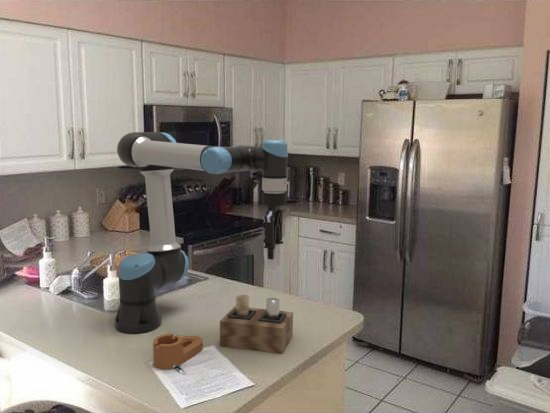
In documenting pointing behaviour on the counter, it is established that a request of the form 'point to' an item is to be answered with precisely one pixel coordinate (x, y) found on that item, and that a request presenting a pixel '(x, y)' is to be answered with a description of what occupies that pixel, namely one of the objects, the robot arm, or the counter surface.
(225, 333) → the walnut block
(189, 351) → the bracket
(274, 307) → the metal peg
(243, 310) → the birch dowel
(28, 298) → the counter surface
